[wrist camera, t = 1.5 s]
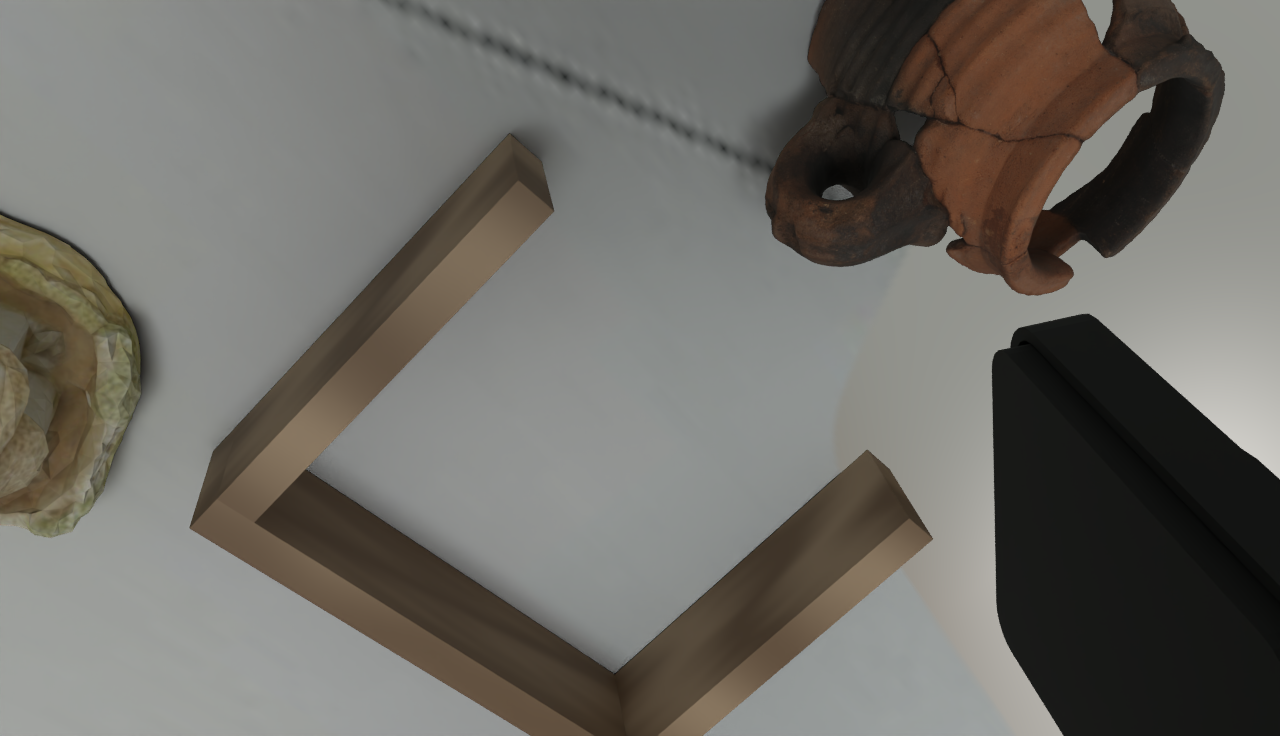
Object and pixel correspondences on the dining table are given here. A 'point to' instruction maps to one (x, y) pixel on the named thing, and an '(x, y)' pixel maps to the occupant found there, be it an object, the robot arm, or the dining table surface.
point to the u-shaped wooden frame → (459, 607)
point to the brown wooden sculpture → (989, 131)
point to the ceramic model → (59, 381)
